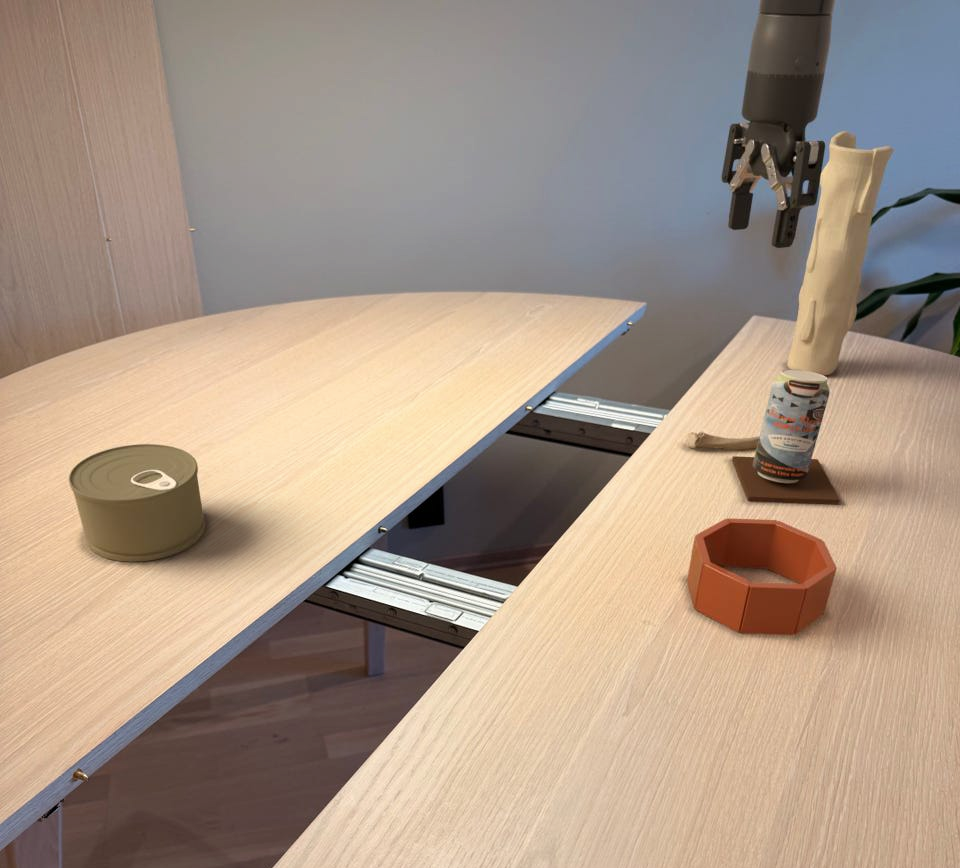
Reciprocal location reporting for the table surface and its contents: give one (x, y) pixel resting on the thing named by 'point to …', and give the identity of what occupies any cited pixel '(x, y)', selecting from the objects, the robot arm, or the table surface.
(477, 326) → the table surface
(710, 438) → the bone
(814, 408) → the beverage can
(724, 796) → the table surface
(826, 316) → the pillar candle
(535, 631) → the table surface
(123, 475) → the can
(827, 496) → the coaster
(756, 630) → the octagonal ring
